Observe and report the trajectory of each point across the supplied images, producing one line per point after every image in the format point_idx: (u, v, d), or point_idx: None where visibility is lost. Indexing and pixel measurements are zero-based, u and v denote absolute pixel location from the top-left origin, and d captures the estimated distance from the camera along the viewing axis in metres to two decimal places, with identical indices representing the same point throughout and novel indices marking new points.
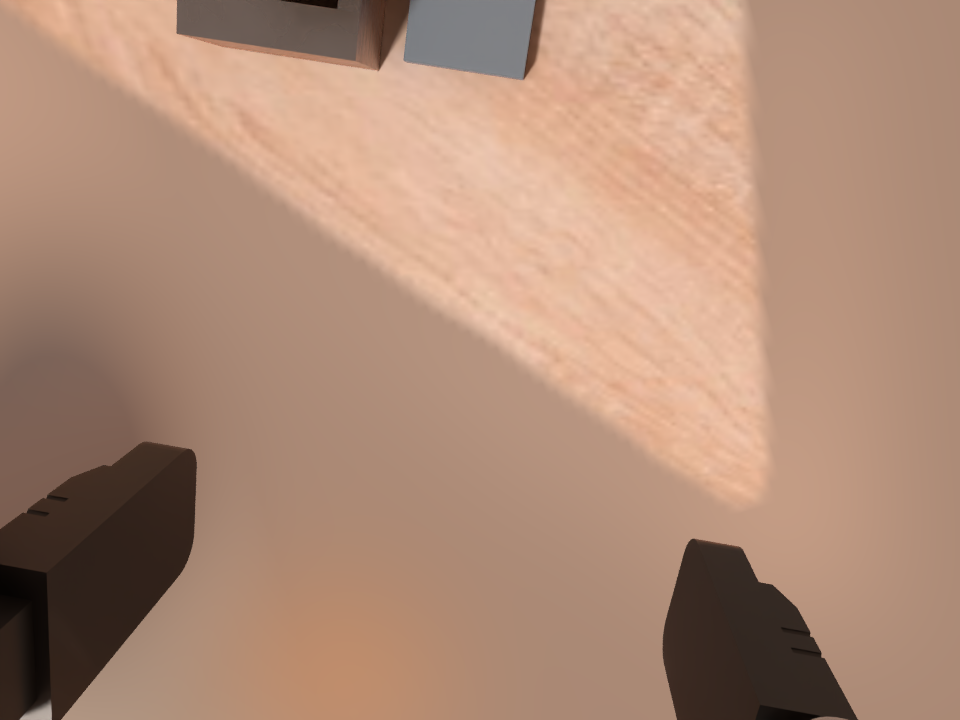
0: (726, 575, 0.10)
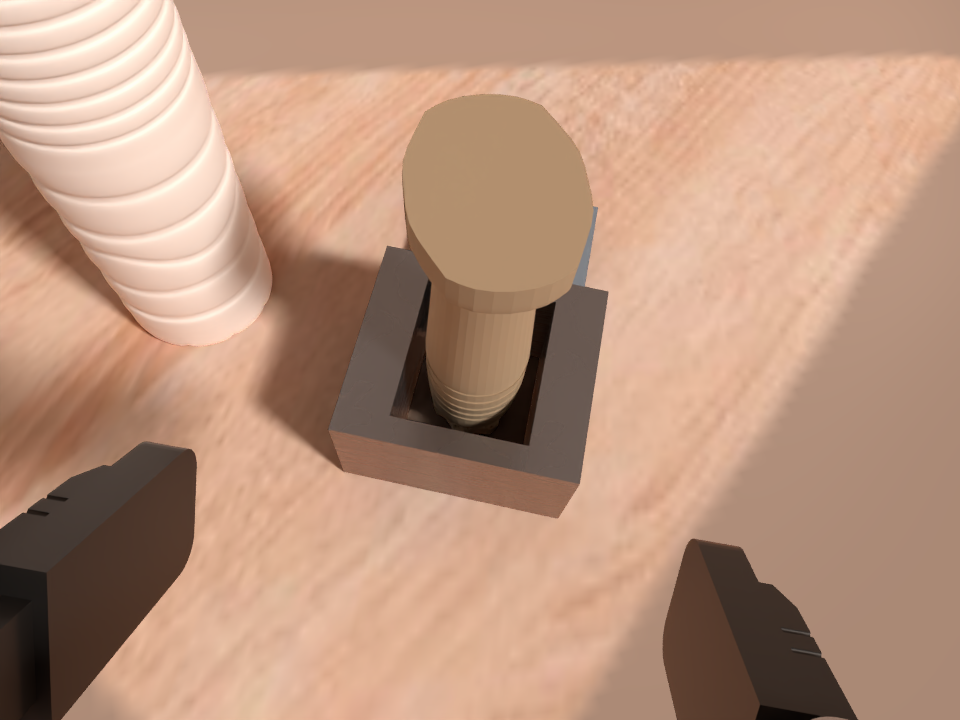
0: (726, 575, 0.10)
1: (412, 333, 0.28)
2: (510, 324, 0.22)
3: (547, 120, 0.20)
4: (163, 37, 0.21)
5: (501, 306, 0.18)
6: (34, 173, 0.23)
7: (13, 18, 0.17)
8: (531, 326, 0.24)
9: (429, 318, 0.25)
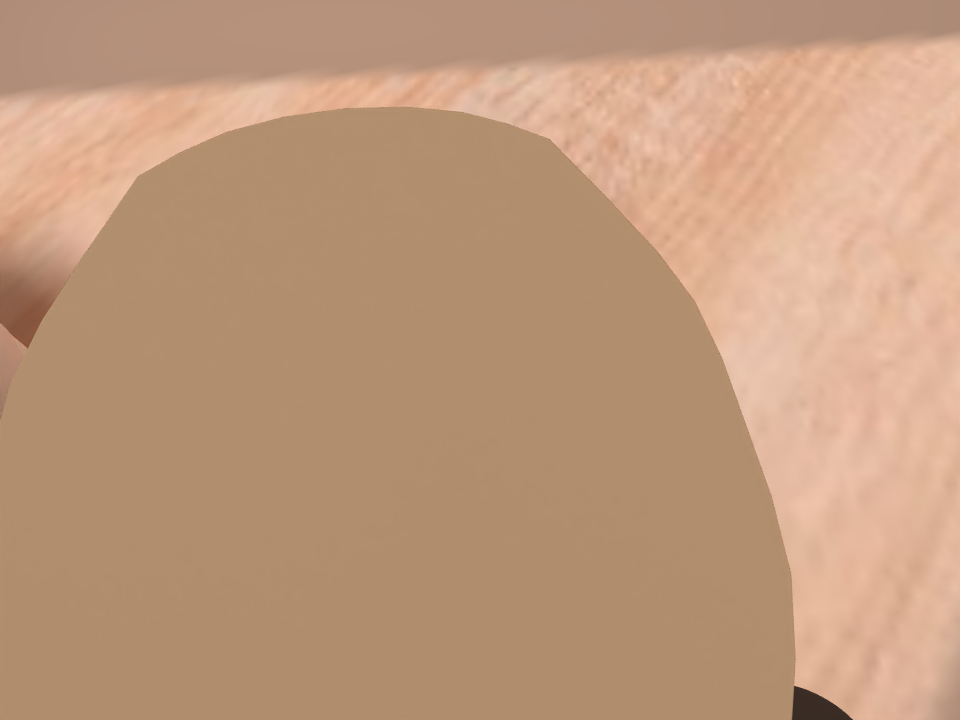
0: None
1: None
2: None
3: (570, 189, 0.06)
4: None
5: None
6: None
7: None
8: None
9: None
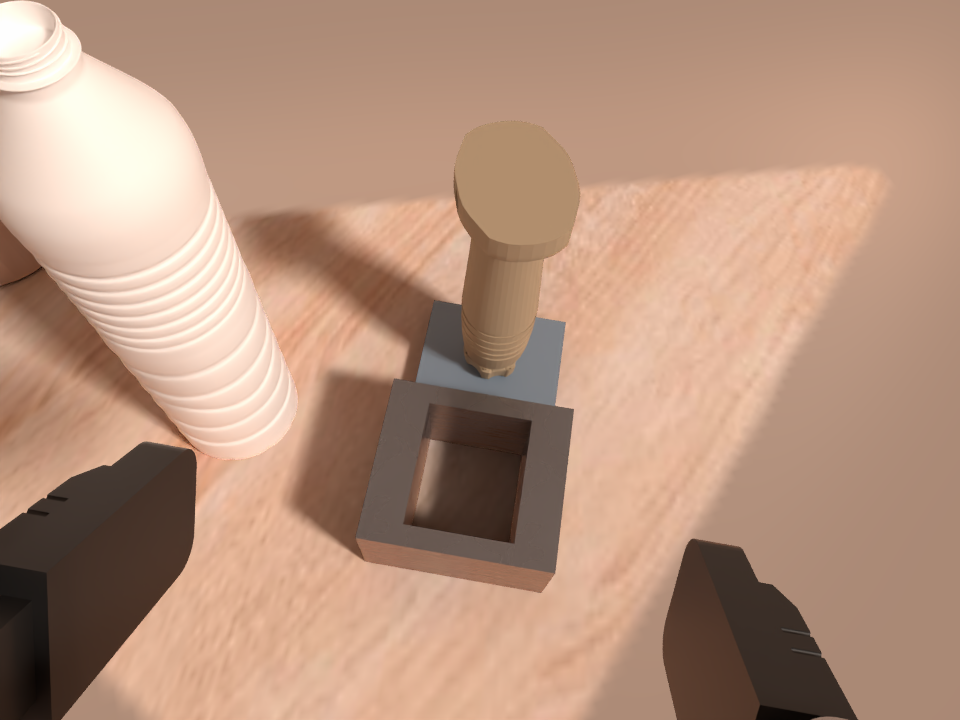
0: (726, 575, 0.10)
1: (418, 453, 0.35)
2: (526, 277, 0.32)
3: (546, 136, 0.30)
4: (228, 268, 0.28)
5: (524, 256, 0.28)
6: (126, 361, 0.30)
7: (132, 285, 0.24)
8: (539, 281, 0.34)
9: (467, 280, 0.35)
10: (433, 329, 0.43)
